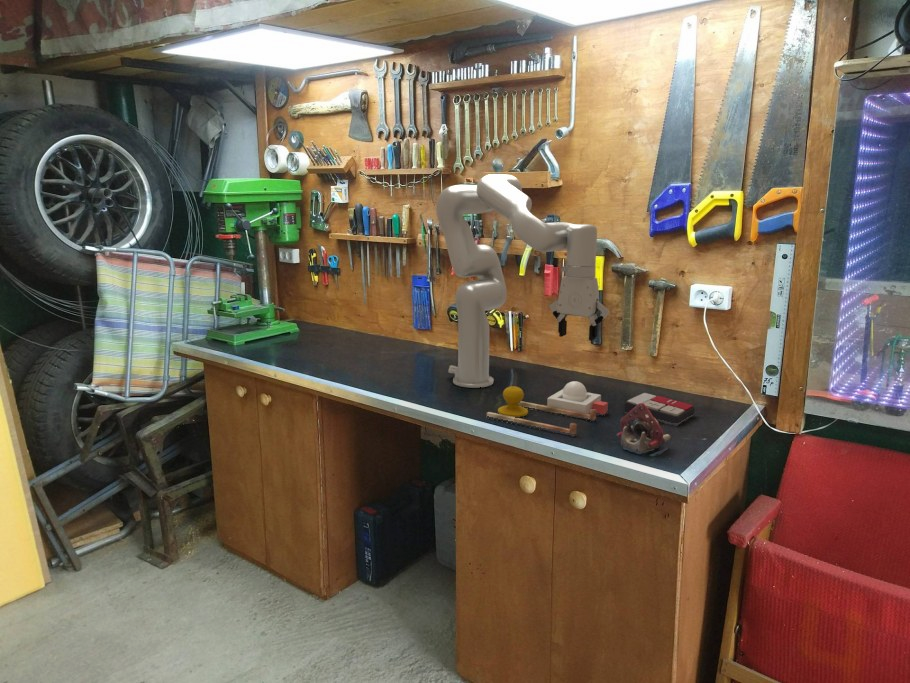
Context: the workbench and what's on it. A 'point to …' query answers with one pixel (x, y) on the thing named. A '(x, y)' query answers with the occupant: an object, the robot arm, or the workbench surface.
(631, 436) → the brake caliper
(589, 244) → the robot arm
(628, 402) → the grey red flat block
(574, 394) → the dome
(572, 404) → the dome base
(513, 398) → the doorknob
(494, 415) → the wooden brackets
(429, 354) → the workbench surface
